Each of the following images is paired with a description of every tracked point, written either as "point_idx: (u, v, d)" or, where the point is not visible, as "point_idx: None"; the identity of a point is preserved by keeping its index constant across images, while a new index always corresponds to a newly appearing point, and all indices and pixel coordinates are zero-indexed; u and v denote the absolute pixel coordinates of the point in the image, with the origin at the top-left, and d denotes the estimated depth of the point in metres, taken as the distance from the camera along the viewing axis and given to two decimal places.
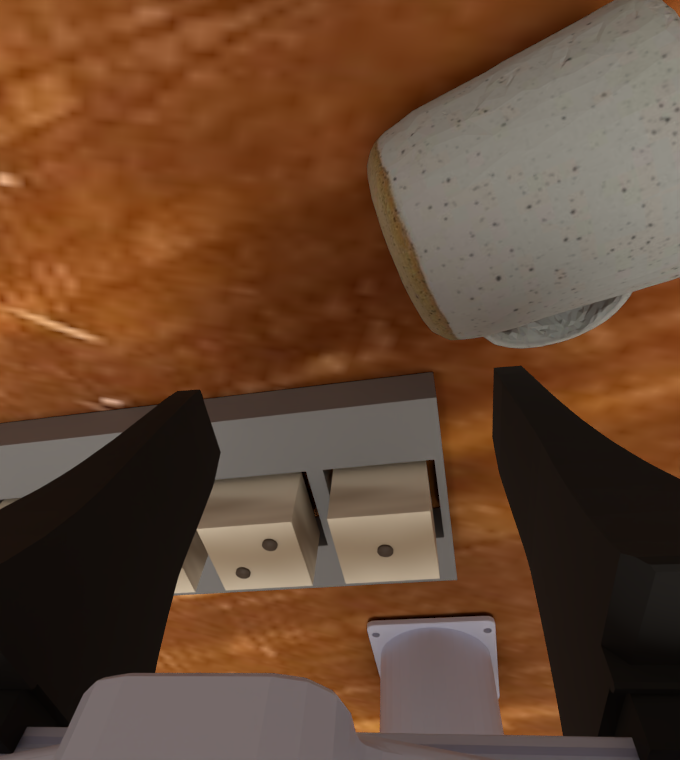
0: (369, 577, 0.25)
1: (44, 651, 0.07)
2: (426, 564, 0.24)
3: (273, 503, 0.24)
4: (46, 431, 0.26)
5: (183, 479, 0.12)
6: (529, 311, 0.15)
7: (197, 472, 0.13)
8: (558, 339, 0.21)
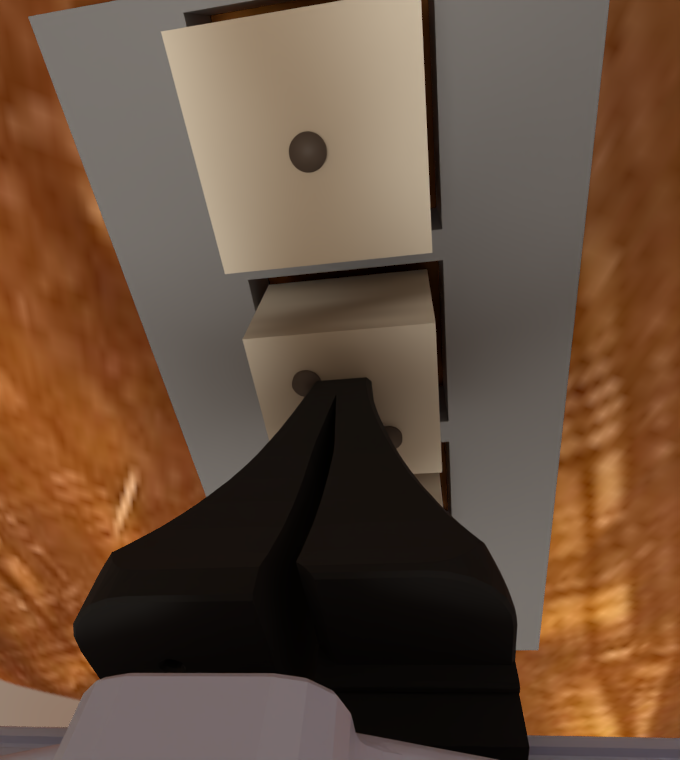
0: (411, 194, 0.10)
1: (288, 650, 0.07)
2: (358, 33, 0.09)
3: None
4: None
5: None
6: None
7: None
8: None
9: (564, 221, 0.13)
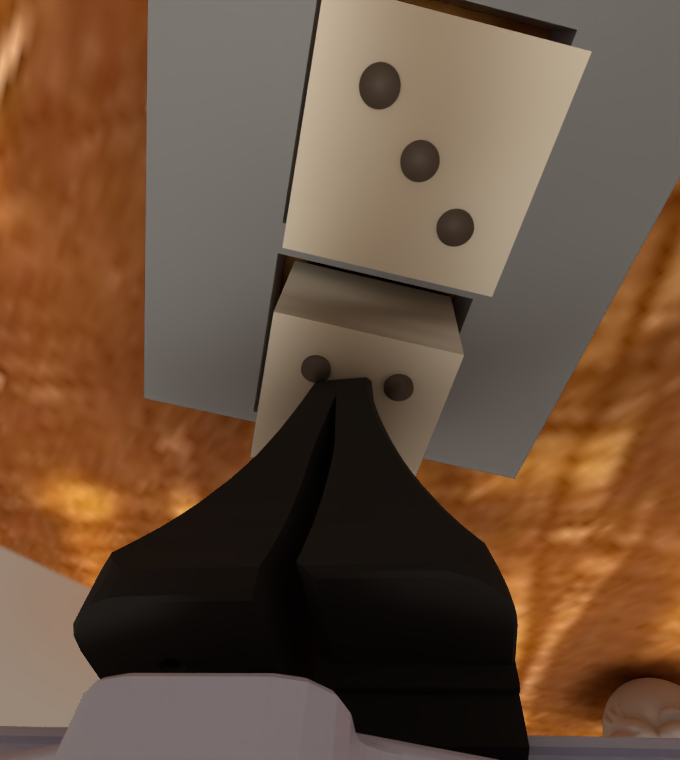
0: None
1: (288, 651, 0.07)
2: None
3: None
4: None
5: None
6: None
7: None
8: None
9: None
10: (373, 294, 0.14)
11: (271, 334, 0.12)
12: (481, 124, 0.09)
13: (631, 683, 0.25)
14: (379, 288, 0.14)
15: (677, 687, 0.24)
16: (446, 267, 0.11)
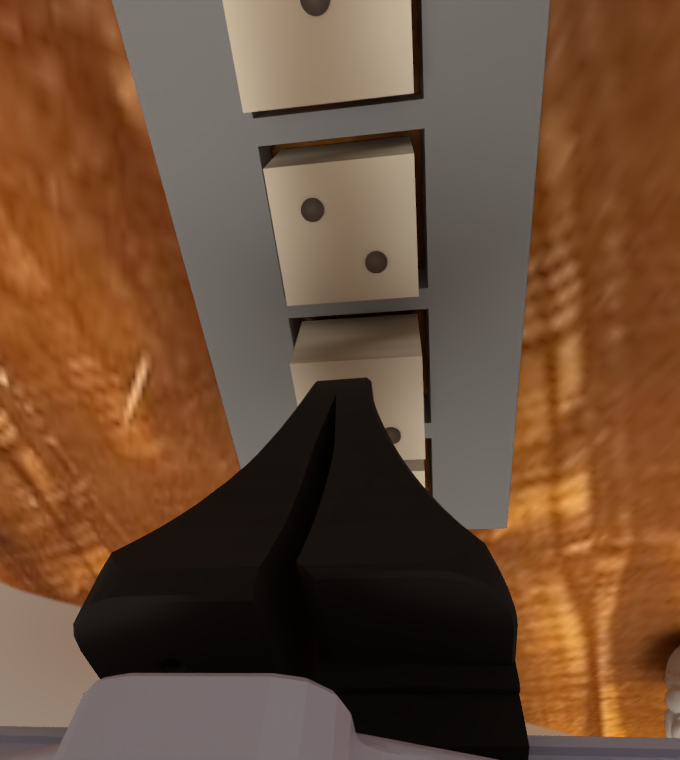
0: (397, 38, 0.13)
1: (288, 651, 0.07)
2: None
3: None
4: None
5: None
6: None
7: None
8: None
9: (524, 92, 0.15)
10: None
11: None
12: (383, 393, 0.18)
13: None
14: None
15: None
16: None
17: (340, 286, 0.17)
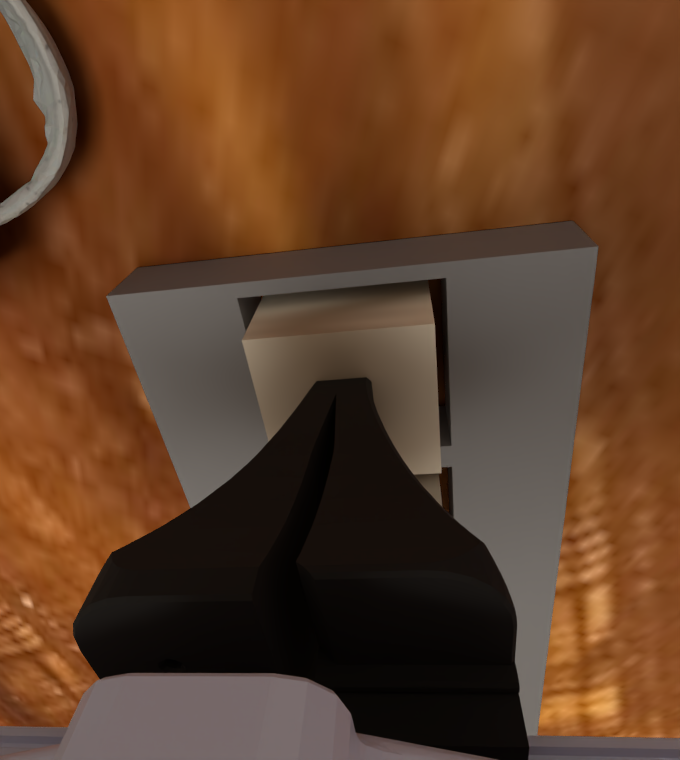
0: (426, 438, 0.13)
1: (288, 651, 0.07)
2: (388, 346, 0.12)
3: None
4: None
5: None
6: None
7: None
8: (36, 41, 0.11)
9: (555, 444, 0.15)
10: None
11: None
12: None
13: None
14: None
15: None
16: None
17: None
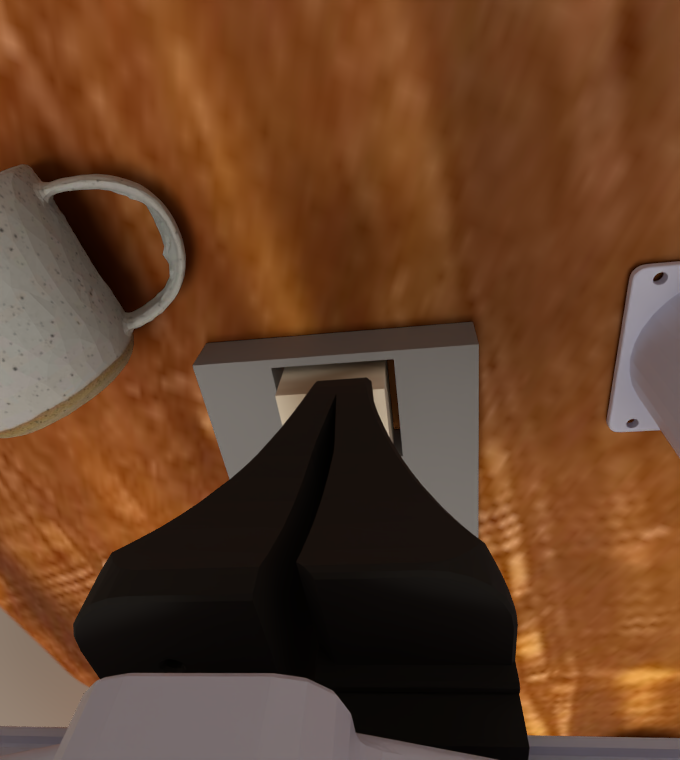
0: None
1: (288, 651, 0.07)
2: None
3: None
4: None
5: None
6: (19, 354, 0.18)
7: None
8: (170, 230, 0.20)
9: (467, 455, 0.24)
10: None
11: None
12: None
13: None
14: None
15: None
16: None
17: None
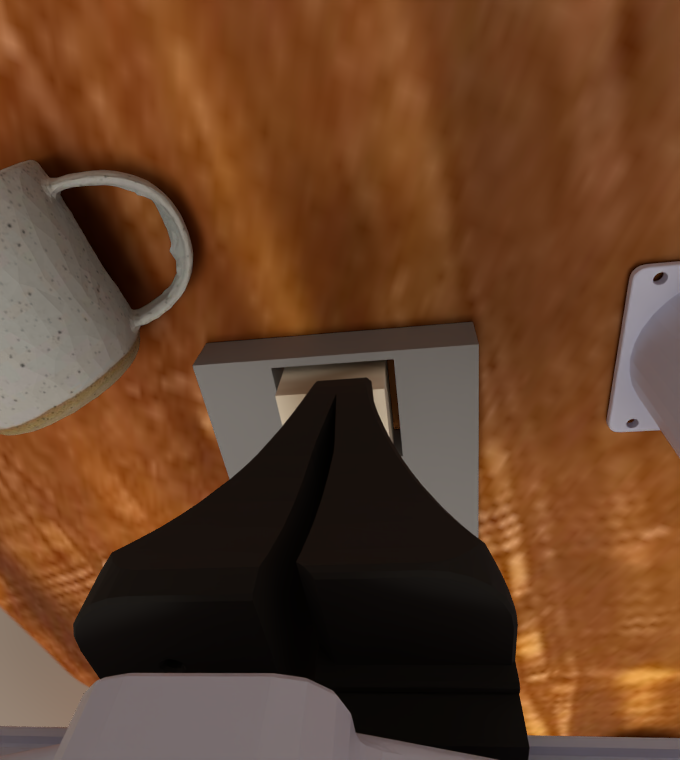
0: None
1: (288, 651, 0.07)
2: None
3: None
4: None
5: None
6: (27, 351, 0.18)
7: None
8: (178, 226, 0.20)
9: (467, 455, 0.24)
10: None
11: None
12: None
13: None
14: None
15: None
16: None
17: None
